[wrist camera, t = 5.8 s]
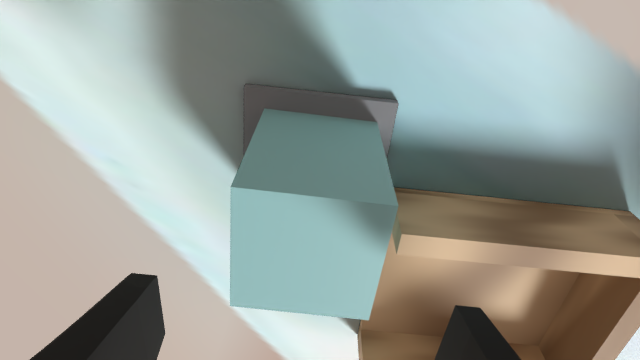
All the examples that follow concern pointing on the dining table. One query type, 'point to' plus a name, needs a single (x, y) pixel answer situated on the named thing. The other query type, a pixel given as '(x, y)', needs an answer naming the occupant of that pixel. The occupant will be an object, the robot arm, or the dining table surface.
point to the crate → (506, 277)
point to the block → (311, 216)
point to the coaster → (317, 108)
